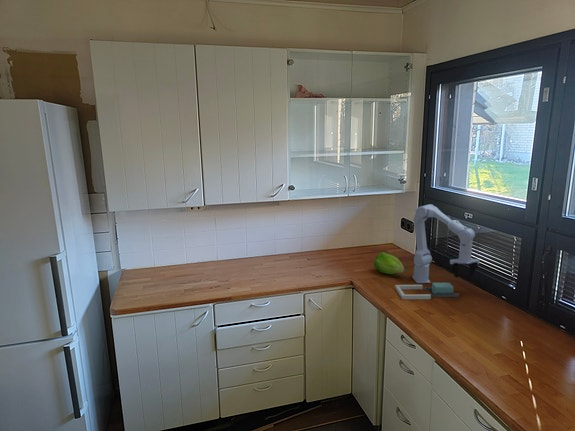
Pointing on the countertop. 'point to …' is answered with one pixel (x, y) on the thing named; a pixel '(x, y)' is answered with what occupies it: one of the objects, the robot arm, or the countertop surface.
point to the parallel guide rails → (441, 293)
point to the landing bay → (415, 296)
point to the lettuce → (388, 264)
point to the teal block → (442, 288)
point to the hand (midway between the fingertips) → (463, 276)
